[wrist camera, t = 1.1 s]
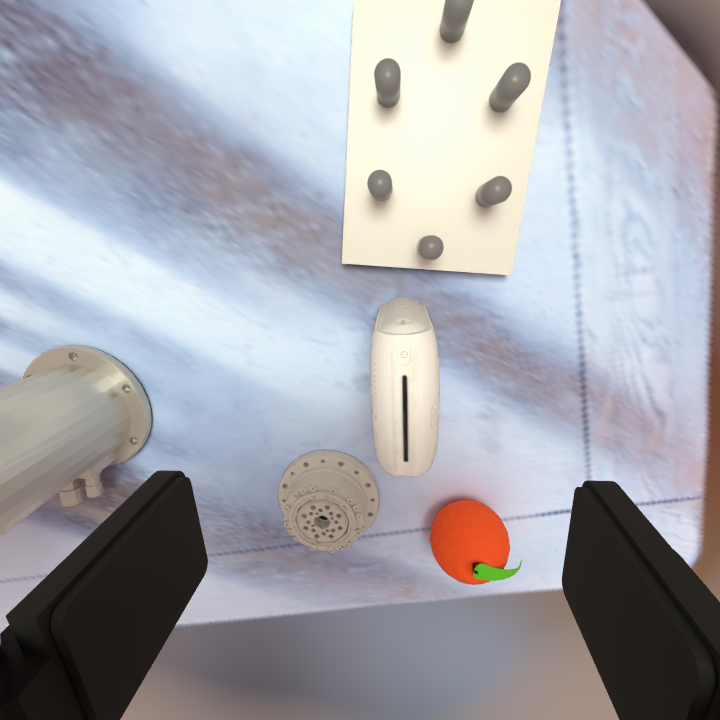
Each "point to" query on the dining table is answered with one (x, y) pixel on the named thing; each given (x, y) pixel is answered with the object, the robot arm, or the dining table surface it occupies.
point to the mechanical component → (327, 500)
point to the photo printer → (404, 388)
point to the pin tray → (443, 130)
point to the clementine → (471, 543)
